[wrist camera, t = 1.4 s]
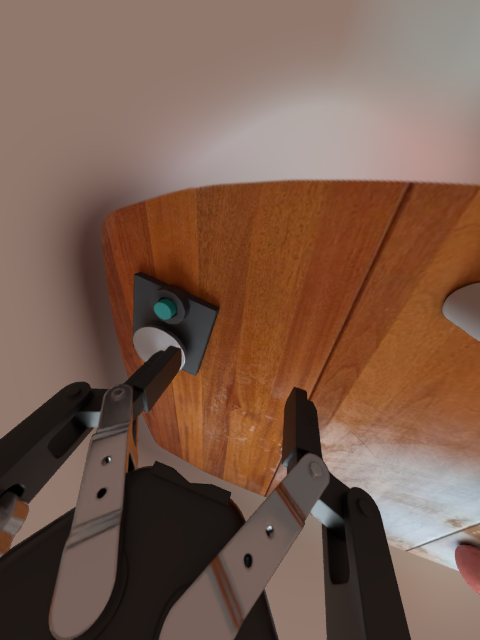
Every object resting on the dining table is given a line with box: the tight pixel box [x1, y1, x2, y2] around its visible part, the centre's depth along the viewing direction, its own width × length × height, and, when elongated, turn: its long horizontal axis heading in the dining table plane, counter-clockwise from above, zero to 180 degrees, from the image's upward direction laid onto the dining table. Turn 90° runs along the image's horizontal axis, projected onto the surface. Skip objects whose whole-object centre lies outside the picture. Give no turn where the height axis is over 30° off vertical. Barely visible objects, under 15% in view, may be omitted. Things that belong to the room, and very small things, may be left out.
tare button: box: [154, 298, 177, 320], centre depth 27 cm, size 3×3×2 cm
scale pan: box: [133, 325, 187, 371], centre depth 32 cm, size 10×10×1 cm
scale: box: [133, 272, 219, 376], centre depth 32 cm, size 17×14×3 cm
